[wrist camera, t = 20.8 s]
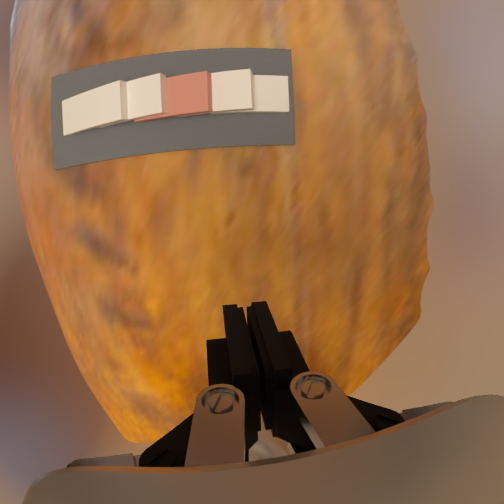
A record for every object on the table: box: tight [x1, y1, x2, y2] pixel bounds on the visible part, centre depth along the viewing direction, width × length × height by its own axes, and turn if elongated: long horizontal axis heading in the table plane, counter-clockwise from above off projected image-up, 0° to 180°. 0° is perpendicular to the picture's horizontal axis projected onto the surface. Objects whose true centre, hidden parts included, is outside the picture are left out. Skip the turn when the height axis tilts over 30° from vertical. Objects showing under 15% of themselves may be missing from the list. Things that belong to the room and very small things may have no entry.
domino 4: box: [176, 69, 254, 117], centre depth 33 cm, size 5×2×10 cm
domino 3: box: [134, 71, 213, 122], centre depth 32 cm, size 5×2×10 cm
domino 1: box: [62, 80, 128, 136], centre depth 31 cm, size 5×2×10 cm
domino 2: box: [97, 73, 168, 128], centre depth 32 cm, size 5×2×10 cm
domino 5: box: [211, 75, 289, 114], centre depth 35 cm, size 5×2×10 cm
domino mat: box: [51, 48, 295, 170], centre depth 35 cm, size 14×34×1 cm, turn 92°
